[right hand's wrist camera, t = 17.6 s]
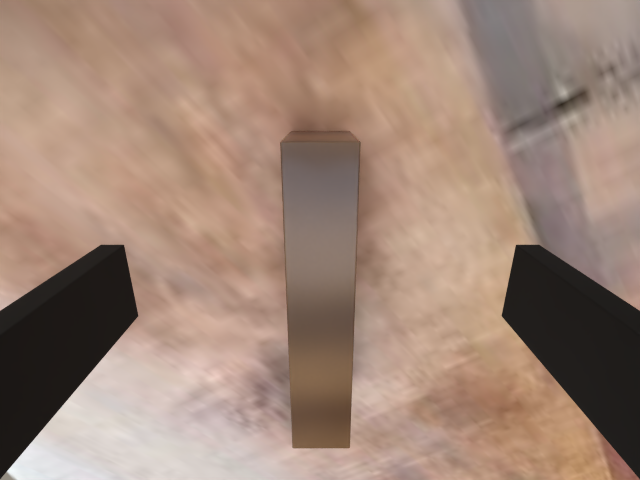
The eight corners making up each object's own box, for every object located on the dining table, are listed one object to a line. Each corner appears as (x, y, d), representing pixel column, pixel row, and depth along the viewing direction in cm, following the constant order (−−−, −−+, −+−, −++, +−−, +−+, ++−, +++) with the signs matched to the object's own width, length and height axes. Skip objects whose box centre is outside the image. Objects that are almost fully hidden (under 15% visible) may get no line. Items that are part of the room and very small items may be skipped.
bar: (290, 131, 32) (280, 141, 24) (350, 131, 32) (360, 141, 24) (297, 379, 41) (292, 448, 33) (343, 379, 41) (349, 448, 33)
